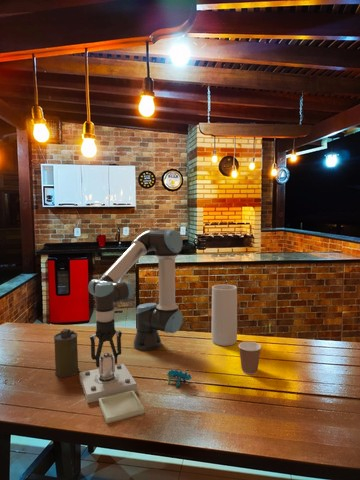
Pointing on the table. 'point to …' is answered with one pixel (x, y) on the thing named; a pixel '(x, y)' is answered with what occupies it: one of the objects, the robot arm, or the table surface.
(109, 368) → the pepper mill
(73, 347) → the canister
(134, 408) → the parts tray
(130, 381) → the bearing plate
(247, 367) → the coffee cup
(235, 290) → the vase
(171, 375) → the teal bumpy figure
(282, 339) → the table surface
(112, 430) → the table surface
